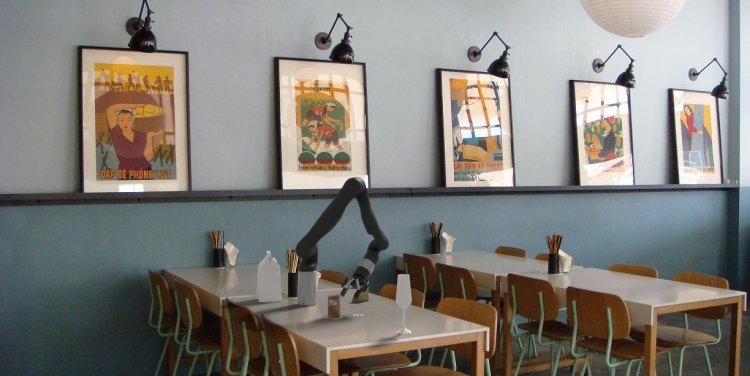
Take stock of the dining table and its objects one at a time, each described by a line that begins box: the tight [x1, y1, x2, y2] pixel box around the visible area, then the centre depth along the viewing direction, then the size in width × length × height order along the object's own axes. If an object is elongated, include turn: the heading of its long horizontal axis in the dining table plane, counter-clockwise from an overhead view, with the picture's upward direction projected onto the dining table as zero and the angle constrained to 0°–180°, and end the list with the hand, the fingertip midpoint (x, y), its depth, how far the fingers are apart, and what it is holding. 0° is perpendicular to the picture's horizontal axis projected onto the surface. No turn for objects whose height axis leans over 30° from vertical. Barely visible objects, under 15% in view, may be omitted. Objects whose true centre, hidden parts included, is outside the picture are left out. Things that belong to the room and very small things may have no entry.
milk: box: [256, 250, 283, 303], centre depth 388 cm, size 12×12×26 cm
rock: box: [351, 285, 370, 303], centre depth 384 cm, size 11×9×10 cm
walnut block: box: [327, 294, 341, 318], centre depth 337 cm, size 5×5×10 cm
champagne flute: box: [395, 273, 413, 335], centre depth 305 cm, size 7×7×24 cm
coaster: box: [323, 315, 344, 320], centre depth 337 cm, size 9×9×1 cm
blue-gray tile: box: [344, 312, 373, 319], centre depth 342 cm, size 12×12×1 cm
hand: (348, 296), depth 344 cm, fingers open, 8 cm apart
